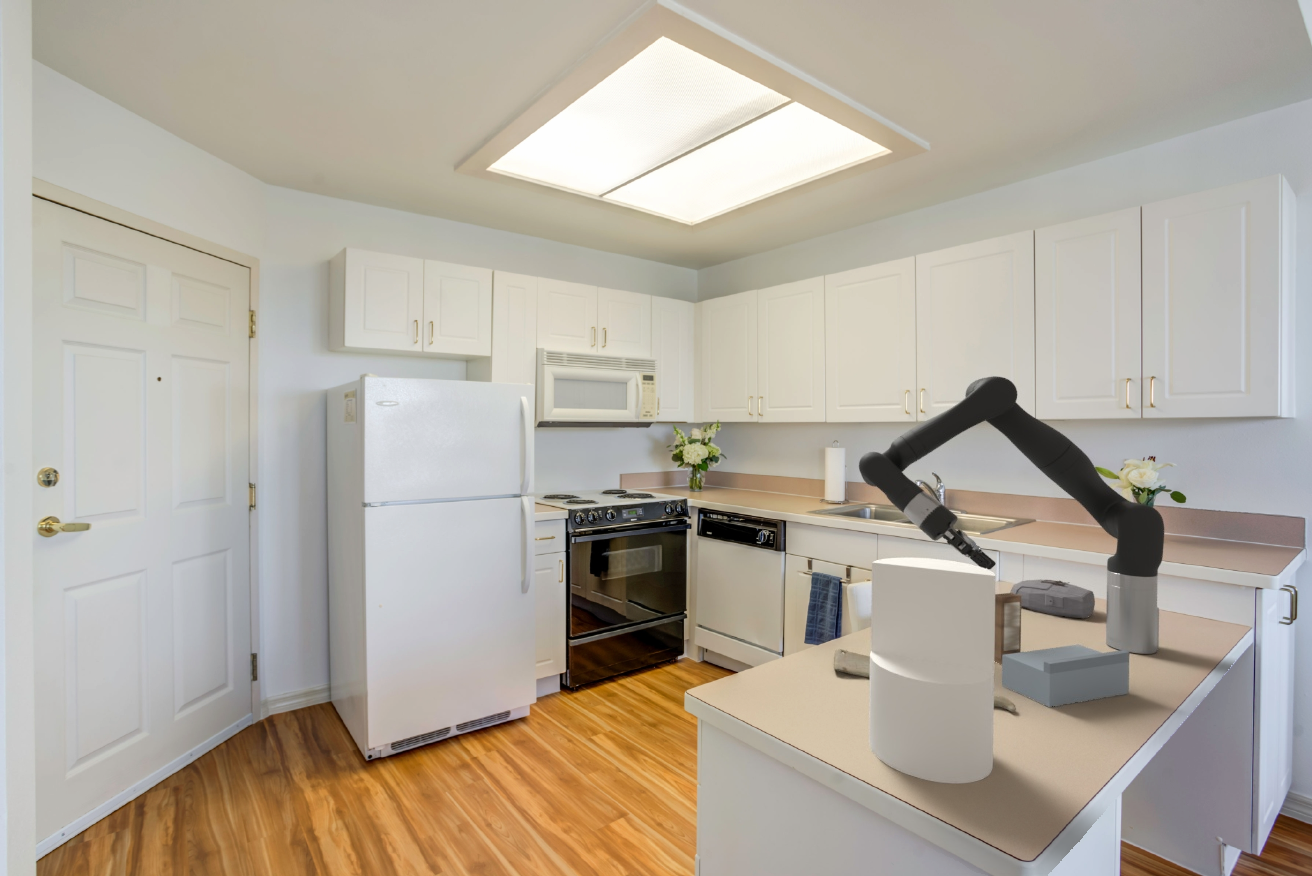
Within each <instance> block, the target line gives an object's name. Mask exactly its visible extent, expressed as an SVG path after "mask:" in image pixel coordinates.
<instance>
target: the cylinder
mask: <svg viewBox="0 0 1312 876" xmlns="http://www.w3.org/2000/svg"><path fill="white" fill-rule="evenodd" d="M995 594H996V574H995V572H993V571H991V569H987V568H986V569H985V568H982V567H980V566H978V565H974V564H971V563H967V562H961V561H960V562H959V561H954V560H948V559H938V558H930V557H929V558H928V557H889V558H881V559H877V560H874V561H872V562H871V606H870V607H871V613H870V614H871V617H870V618H871V619H870V620H871V621H870V624H871V625H870V654H869V656H870V678H869V693H868V694H869V699H868V701H869V706H868V716H869V717H868V745H869V748H870V750H871V753H872V754H874V755H875V757H877V758H878V759H879V761H881V762H882V763H884V764H886V765H887V766H889V767H891V768H892V769H894V770H897V771H899V772H901V773H903V774H905V775H908V776H912V777H914V778H918V779H921V780H925V781H930V782H935V783H943V784H969V783H975V782H977V781H981V780H983V779H986V778H987V777H988V776H989V775H991V773H992V771H993V768H994V710H995V707H994V696H995V693H994V692H995V662H994V647H995Z"/></svg>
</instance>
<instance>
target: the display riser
mask: <svg viewBox="0 0 1312 876" xmlns="http://www.w3.org/2000/svg"><path fill="white" fill-rule="evenodd" d="M1001 667H1002V668H1001V686H1002V685H1003V686H1005V687H1004V688H1006V687H1007V688H1006V689H1008V688H1009V689H1008V690H1010V689H1011V691H1012V690H1014V691H1015V693H1017V692H1018V693H1017V694H1019V693H1020V694H1019V695H1021V694H1023V695H1025V696H1027V697H1030V698H1031V699H1030V698H1029V699H1030V700H1032V699H1034V700H1035V701H1034V700H1033V701H1034V702H1036V701H1037V702H1036V703H1038V702H1040V703H1042V704H1041V705H1043V704H1044V705H1043V706H1045V705H1046V706H1045V707H1047V706H1048V708H1049V707H1050V708H1055V707H1061V706H1064V705H1063V704H1067V705H1071V704H1070V703H1072V704H1076V703H1075V702H1078V703H1082V702H1081V701H1084V702H1088V700H1089V701H1093V699H1095V700H1099V699H1100V698H1101V699H1104V698H1103V697H1106V698H1110V697H1116V696H1115V695H1118V696H1122V695H1129V694H1130V693H1129V692H1130V691H1129V690H1130V687H1129V686H1130V652H1127V651H1124V650H1115V651H1107V652H1102V651H1099V650H1095V649H1092V648H1089V647H1088V646H1087V647H1086V646H1084V645H1081V644H1072V645H1066V646H1058V647H1049V648H1043V649H1036V650H1034V649H1033V650H1030V651H1029V650H1028V651H1021V652H1020V653H1012V654H1005V655H1002V665H1001ZM1003 686H1002V687H1003ZM1014 691H1013V692H1014ZM1023 695H1022V696H1023ZM1025 696H1024V697H1025ZM1027 697H1026V698H1027ZM1040 703H1039V704H1040ZM1060 705H1061V706H1060ZM1052 706H1053V707H1052ZM1054 706H1055V707H1054Z"/></svg>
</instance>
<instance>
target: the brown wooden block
mask: <svg viewBox="0 0 1312 876" xmlns="http://www.w3.org/2000/svg"><path fill="white" fill-rule="evenodd" d="M1021 638H1022V607H1021V595H1018V594H1014V593H1010V592H1008V593H995V647H994V661H995V662H994V663H996V662H997V664H998V663H999V664H998V665H1001V664H1002V655H1005V654H1012V653H1020V652H1022V649H1021V648H1022V647H1021V645H1022V644H1021V643H1022V639H1021Z"/></svg>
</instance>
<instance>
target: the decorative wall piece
mask: <svg viewBox="0 0 1312 876" xmlns="http://www.w3.org/2000/svg"><path fill="white" fill-rule="evenodd" d="M834 651H835V652H834V657H833V670H835V671H836V672H842V673H846V674H850V675H854V676H859V677H866V678H869V679H870V655H864V654H860V653H856V652H853V651H849V650H845V649H840V648H839V649H838V648H837V649H836V650H834ZM995 707H1000V708H1005V709H1006V710H1008V711H1009V712H1015V711H1017V707H1016V705H1015V704H1014V702H1012V701H1011V700H1010V699H1009V698H1007V697H1004V696H1000V695H999V696H998V695H994V708H995Z"/></svg>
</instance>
